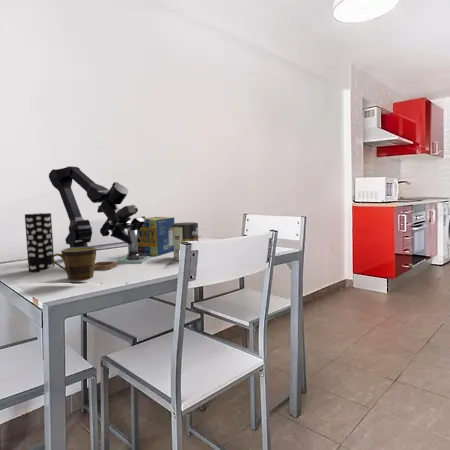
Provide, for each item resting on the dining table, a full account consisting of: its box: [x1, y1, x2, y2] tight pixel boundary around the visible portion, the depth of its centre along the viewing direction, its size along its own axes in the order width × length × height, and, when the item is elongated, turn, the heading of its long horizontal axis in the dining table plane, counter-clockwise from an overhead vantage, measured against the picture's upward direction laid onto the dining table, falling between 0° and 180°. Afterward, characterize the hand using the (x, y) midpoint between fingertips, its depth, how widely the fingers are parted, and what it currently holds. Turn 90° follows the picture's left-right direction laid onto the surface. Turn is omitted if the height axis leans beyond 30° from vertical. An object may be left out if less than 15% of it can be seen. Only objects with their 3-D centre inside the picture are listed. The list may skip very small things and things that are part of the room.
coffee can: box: [172, 221, 199, 261], centre depth 150 cm, size 10×10×14 cm
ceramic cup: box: [52, 246, 97, 285], centre depth 113 cm, size 13×10×10 cm
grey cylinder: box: [126, 230, 140, 260], centre depth 141 cm, size 4×4×12 cm
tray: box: [116, 255, 150, 264], centre depth 142 cm, size 10×10×2 cm
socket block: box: [94, 261, 117, 271], centre depth 129 cm, size 7×7×2 cm
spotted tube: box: [24, 212, 55, 273], centre depth 133 cm, size 8×8×20 cm
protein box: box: [138, 216, 175, 257], centre depth 166 cm, size 10×15×16 cm
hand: (135, 242), depth 140 cm, fingers open, 4 cm apart
